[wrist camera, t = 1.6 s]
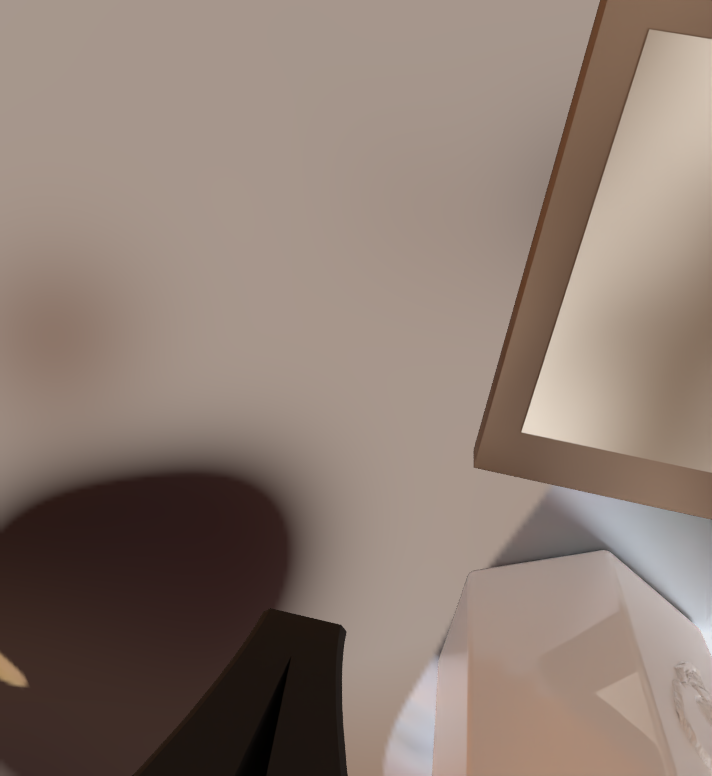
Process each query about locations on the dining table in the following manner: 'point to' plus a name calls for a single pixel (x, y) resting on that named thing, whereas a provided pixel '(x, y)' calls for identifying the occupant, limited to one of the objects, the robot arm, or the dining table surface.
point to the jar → (571, 676)
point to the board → (620, 278)
